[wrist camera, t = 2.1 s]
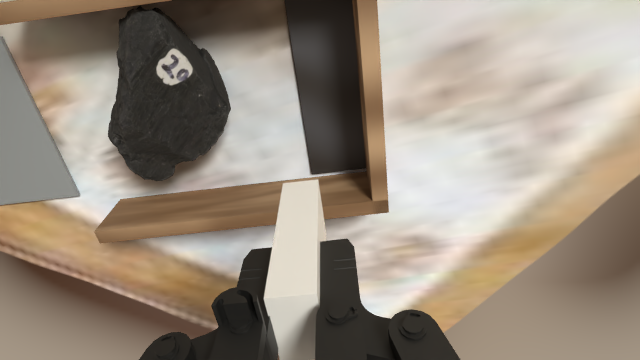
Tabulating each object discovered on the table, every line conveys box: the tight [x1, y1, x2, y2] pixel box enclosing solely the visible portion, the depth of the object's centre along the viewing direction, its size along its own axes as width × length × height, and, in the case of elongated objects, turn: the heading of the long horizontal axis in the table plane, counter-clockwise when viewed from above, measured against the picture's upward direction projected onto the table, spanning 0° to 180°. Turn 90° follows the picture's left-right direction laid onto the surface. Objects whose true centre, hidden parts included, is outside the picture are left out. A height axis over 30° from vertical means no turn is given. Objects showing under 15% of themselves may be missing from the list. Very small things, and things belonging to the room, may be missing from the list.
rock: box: [108, 6, 231, 181], centre depth 29 cm, size 8×11×10 cm
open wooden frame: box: [0, 0, 389, 243], centre depth 30 cm, size 18×24×5 cm
